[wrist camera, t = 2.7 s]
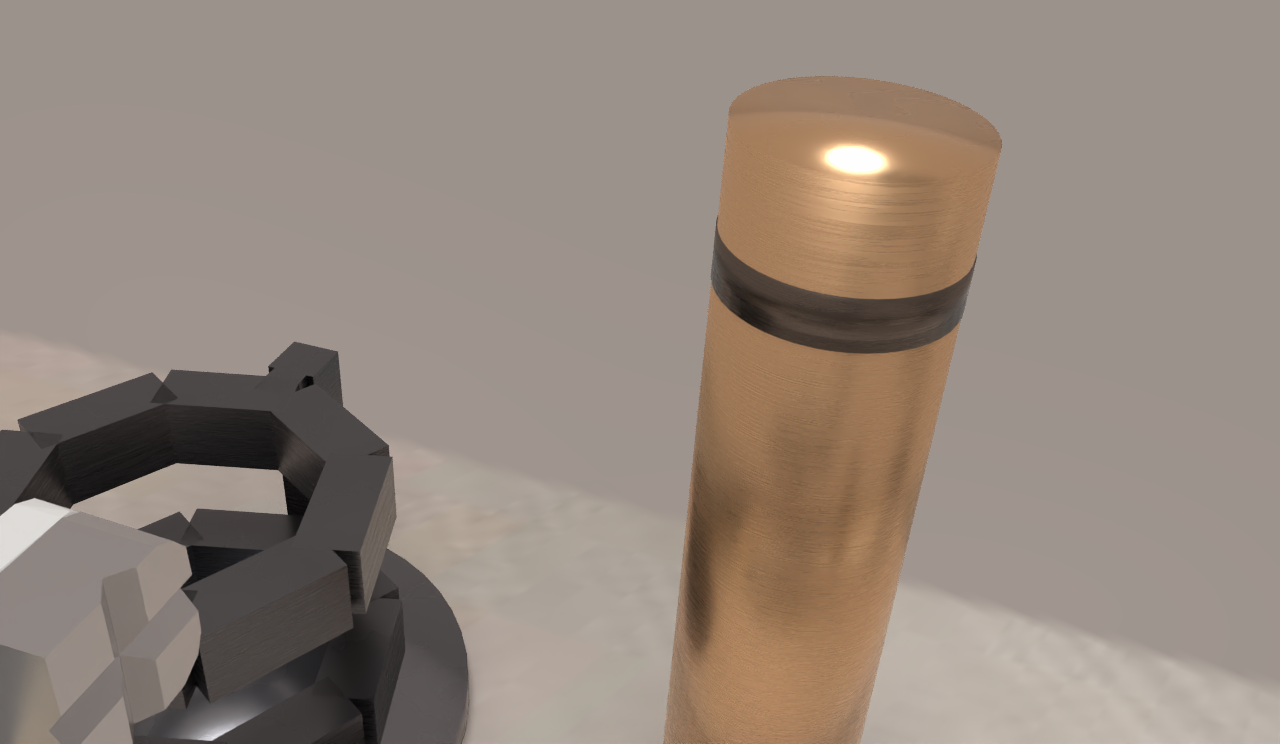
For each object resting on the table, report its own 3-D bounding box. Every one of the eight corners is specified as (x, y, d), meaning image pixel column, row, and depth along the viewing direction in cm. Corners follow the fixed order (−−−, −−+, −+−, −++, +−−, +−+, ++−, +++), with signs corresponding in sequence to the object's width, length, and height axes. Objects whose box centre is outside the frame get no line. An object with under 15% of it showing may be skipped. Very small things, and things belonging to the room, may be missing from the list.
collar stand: (569, 735, 34) (577, 515, 30) (62, 1076, 26) (-31, 842, 21) (308, 487, 42) (285, 287, 38) (-138, 686, 34) (-235, 459, 30)
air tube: (861, 879, 31) (1056, 137, 20) (741, 992, 28) (889, 208, 17) (734, 768, 33) (843, 59, 22) (613, 862, 31) (670, 110, 20)
